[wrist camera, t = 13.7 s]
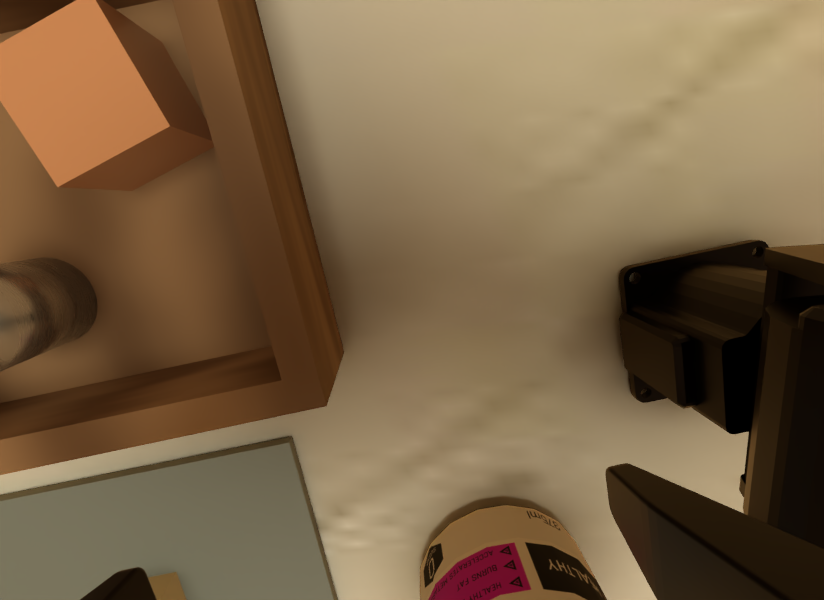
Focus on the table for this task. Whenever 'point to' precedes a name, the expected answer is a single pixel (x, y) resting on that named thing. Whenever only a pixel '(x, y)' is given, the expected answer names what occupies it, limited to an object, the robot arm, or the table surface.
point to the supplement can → (506, 559)
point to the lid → (171, 530)
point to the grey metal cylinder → (42, 307)
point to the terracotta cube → (99, 99)
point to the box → (173, 263)
